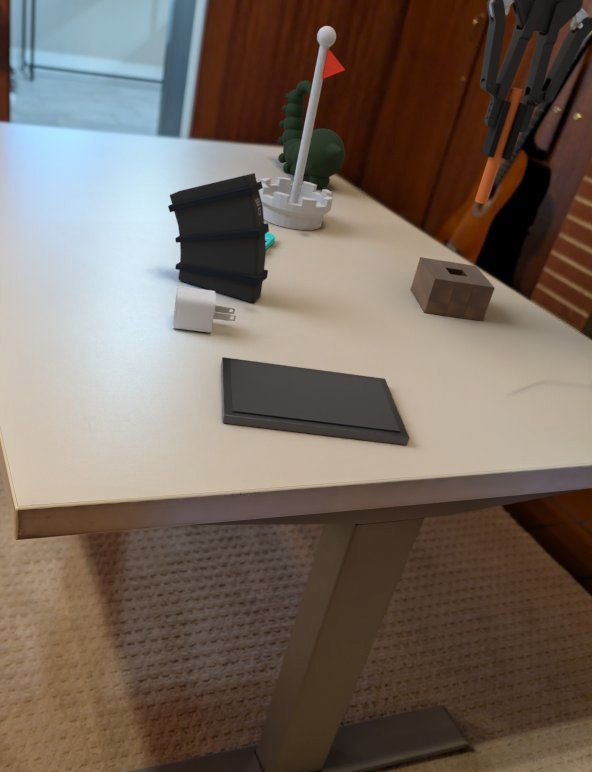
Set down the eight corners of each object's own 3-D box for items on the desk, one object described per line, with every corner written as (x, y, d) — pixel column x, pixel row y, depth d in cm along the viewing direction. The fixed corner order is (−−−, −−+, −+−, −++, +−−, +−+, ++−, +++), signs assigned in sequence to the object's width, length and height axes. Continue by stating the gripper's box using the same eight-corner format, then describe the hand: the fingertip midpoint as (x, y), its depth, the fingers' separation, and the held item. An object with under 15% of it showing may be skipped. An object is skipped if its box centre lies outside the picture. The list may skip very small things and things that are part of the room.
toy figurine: (262, 169, 167) (312, 193, 147) (275, 75, 158) (330, 87, 138) (300, 172, 170) (354, 196, 151) (314, 80, 162) (374, 93, 142)
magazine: (277, 299, 94) (248, 176, 88) (186, 314, 100) (152, 199, 94) (287, 291, 97) (259, 171, 91) (198, 305, 103) (166, 193, 97)
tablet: (383, 385, 83) (385, 377, 82) (407, 445, 73) (410, 436, 72) (220, 364, 80) (222, 355, 80) (222, 423, 70) (224, 414, 70)
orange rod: (484, 201, 101) (521, 88, 94) (488, 205, 100) (525, 90, 92) (473, 199, 101) (509, 86, 94) (476, 203, 100) (513, 88, 92)
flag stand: (238, 209, 131) (269, 14, 115) (291, 205, 139) (327, 22, 124) (288, 234, 124) (329, 29, 108) (341, 229, 132) (387, 38, 116)
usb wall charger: (173, 315, 89) (177, 283, 87) (231, 323, 90) (236, 292, 88) (172, 330, 86) (177, 297, 83) (233, 338, 87) (238, 305, 84)
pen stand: (465, 297, 113) (476, 265, 110) (482, 321, 105) (495, 287, 103) (410, 289, 111) (420, 256, 109) (424, 312, 104) (435, 278, 102)
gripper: (610, -48, 89) (538, 158, 101) (493, -73, 87) (434, 140, 99) (641, -48, 83) (559, 172, 95) (516, -75, 81) (449, 153, 93)
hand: (495, 155), depth 97 cm, fingers closed on orange rod, 1 cm apart
